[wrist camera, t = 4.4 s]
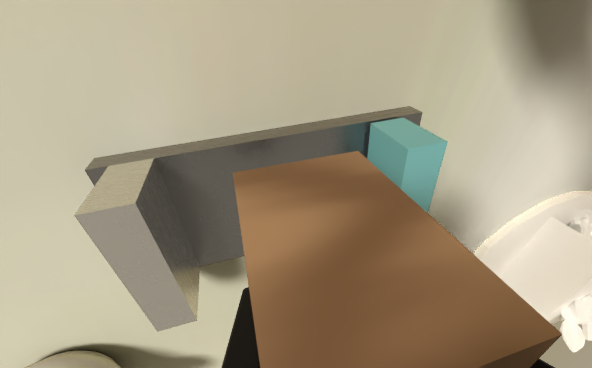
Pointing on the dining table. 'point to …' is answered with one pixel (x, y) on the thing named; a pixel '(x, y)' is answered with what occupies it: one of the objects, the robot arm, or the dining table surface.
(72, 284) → the dining table surface
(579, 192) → the dish
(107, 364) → the teacup
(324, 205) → the brown rectangular block
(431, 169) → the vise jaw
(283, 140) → the vise base
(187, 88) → the dining table surface
